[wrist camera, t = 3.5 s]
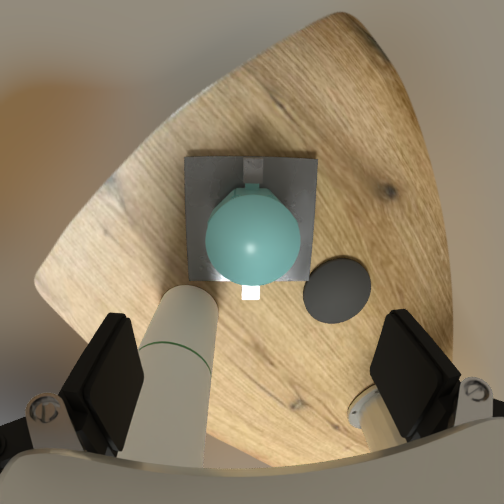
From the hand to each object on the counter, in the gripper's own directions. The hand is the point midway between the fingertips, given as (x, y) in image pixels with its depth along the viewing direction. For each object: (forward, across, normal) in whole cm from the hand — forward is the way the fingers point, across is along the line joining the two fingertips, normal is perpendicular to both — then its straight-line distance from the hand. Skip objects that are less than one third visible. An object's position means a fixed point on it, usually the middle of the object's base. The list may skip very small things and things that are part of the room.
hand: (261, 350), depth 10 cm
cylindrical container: (+22, +7, +12) cm, 26 cm away
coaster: (+21, -11, +9) cm, 26 cm away
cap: (+18, 0, +1) cm, 19 cm away
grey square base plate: (+22, 0, +1) cm, 22 cm away
